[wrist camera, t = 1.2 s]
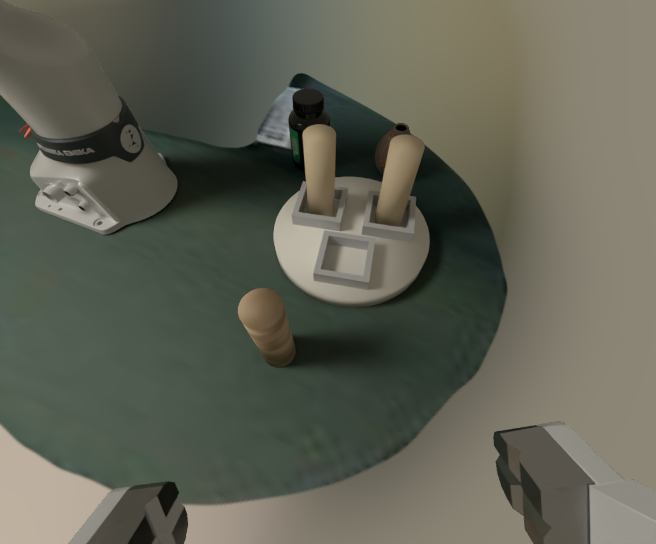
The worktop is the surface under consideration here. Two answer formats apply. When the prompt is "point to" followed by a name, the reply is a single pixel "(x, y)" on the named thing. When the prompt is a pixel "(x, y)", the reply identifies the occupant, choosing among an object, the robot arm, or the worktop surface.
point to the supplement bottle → (305, 120)
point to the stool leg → (268, 325)
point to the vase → (384, 145)
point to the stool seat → (353, 226)
